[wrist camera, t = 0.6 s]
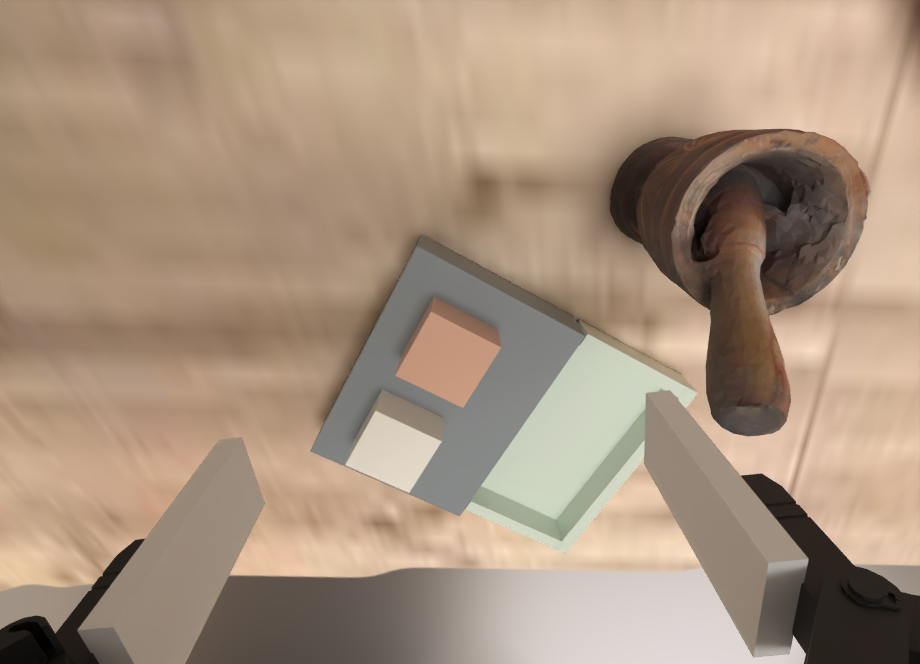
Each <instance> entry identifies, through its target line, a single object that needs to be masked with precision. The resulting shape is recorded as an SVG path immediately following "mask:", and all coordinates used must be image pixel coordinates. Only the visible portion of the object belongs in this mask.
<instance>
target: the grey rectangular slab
mask: <svg viewBox="0 0 920 664" xmlns="http://www.w3.org/2000/svg"><path fill="white" fill-rule="evenodd" d="M433 297H435V298H437V299H439V300H441V301H443V302H445V303H447V304H449V305H451V306H453V307H455V308H457V309H459V310H460V311H462V312H464V313H466V314H468V315H470V316H472V317H474V318H476V319H478V320H480V321H482V322H484V323H486V324H487V325H489V326H491V327H493V328H495V329H497V330H498V332H499V338H500V343H501V349H500V351H499V352H498V354H497V355H496V357H495V358H494V360H493V362H492V363H491V365H490V366H489V368H488V370H487V371H486V373H485V374H484V376H483V377H482V379H481V381H480V382H479V384H478V385H477V387H476V388H475V390H474V392H473V393H472V395H471V396H470V398H469V399H468V401H467V403H466V404H465V406H464V407H463V408H462V407H460V406H458V405H456V404H454V403H451V402H449V401H447V400H445V399H443V398H441V397H439V396H437V395H435V394H433V393H431V392H429V391H426V390H424V389H422V388H420V387H418V386H416V385H414V384H412V383H410V382H408V381H406V380H403V379H401V378H399V377H397V376H395V375H396V371H397V367H398V364H399V360H400V356H401V354H402V353H403V351H404V349H405V347H406V345H407V344H408V342H409V340H410V338H411V336H412V335H413V333H414V331H415V329H416V327H417V326H418V324H419V322H420V320H421V318H422V317H423V315H424V313H425V311H426V309H427V307H428V306H429V304H430V302H431V300H432V298H433ZM584 337H585V335H584V333H583V332H582V330H581V328H580V327H579V325H578V323H577V322H576V320H575V318H574V317H573V316H572V315H570V314H568V313H566V312H564V311H563V310H561V309H559V308H557V307H555V306H553V305H552V304H550V303H548V302H546V301H544V300H542V299H540V298H539V297H537V296H535V295H533V294H531V293H529V292H528V291H526V290H524V289H522V288H520V287H518V286H516V285H515V284H513V283H511V282H509V281H507V280H505V279H504V278H502V277H500V276H498V275H496V274H494V273H492V272H491V271H489V270H487V269H485V268H483V267H481V266H480V265H478V264H476V263H474V262H472V261H470V260H468V259H467V258H465V257H463V256H461V255H459V254H457V253H456V252H454V251H452V250H450V249H448V248H446V247H444V246H443V245H441V244H439V243H437V242H435V241H433V240H432V239H430V238H428V237H426V236H424V235H421V237H420V239H419V241H418V242H417V244H416V246H415V248H414V250H413V252H412V254H411V256H410V258H409V260H408V262H407V264H406V266H405V267H404V269H403V271H402V273H401V275H400V277H399V279H398V281H397V283H396V285H395V287H394V289H393V291H392V293H391V294H390V296H389V298H388V300H387V302H386V304H385V306H384V308H383V310H382V312H381V314H380V316H379V318H378V319H377V321H376V323H375V325H374V327H373V329H372V331H371V333H370V335H369V337H368V339H367V341H366V343H365V344H364V346H363V348H362V350H361V352H360V354H359V356H358V358H357V360H356V362H355V364H354V366H353V368H352V370H351V371H350V373H349V375H348V377H347V379H346V381H345V383H344V385H343V387H342V389H341V391H340V393H339V395H338V396H337V398H336V400H335V402H334V404H333V406H332V408H331V410H330V412H329V414H328V416H327V418H326V420H325V421H324V423H323V426H322V428H321V430H320V432H319V434H318V436H317V438H316V440H315V443H314V445H313V447H312V449H311V452H313V453H315V454H318V455H320V456H322V457H325V458H327V459H329V460H332V461H334V462H336V463H339V464H341V465H343V466H345V467H348V466H346V465H345V464H346V461H347V458H348V456H349V453H350V450H351V447H352V444H353V441H354V439H355V437H356V436H357V434H358V432H359V430H360V428H361V426H362V425H363V423H364V421H365V419H366V417H367V416H368V414H369V412H370V410H371V408H372V407H373V405H374V403H375V401H376V399H377V398H378V396H379V394H380V392H381V390H382V389H383V390H385V391H387V392H389V393H391V394H394V395H396V396H398V397H400V398H402V399H404V400H406V401H408V402H411V403H413V404H415V405H417V406H419V407H421V408H423V409H425V410H428V411H430V412H432V413H434V414H436V415H438V416H440V417H442V418H443V431H442V442H441V444H440V445H439V447H438V448H437V450H436V451H435V453H434V455H433V456H432V458H431V459H430V461H429V462H428V464H427V466H426V467H425V469H424V470H423V472H422V474H421V475H420V477H419V478H418V480H417V481H416V483H415V485H414V486H413V488H412V489H411V491H410V492H409V493H408V492H406V491H403V490H401V489H399V488H396V487H394V486H392V485H390V484H387V483H385V482H383V481H380V480H378V479H376V478H373V477H371V476H369V475H367V474H364V473H362V472H360V471H357V470H355V469H353V468H350V467H348V468H350V469H352V470H355V471H357V472H359V473H362V474H364V475H366V476H368V477H371V478H373V479H375V480H378V481H380V482H382V483H385V484H387V485H389V486H391V487H394V488H396V489H398V490H401V491H403V492H405V493H408V494H410V495H412V496H414V497H417V498H419V499H421V500H424V501H426V502H428V503H431V504H433V505H435V506H437V507H440V508H442V509H444V510H447V511H449V512H451V513H454V514H456V515H458V516H460V515H461V514H462V512H463V511H464V509H465V508H466V506H467V505H468V504H469V502H470V501H471V499H472V498H473V496H474V495H475V494H476V492H477V491H478V489H479V488H480V486H481V485H482V484H483V482H484V481H485V479H486V478H487V476H488V475H489V474H490V472H491V471H492V469H493V468H494V466H495V465H496V463H497V462H498V461H499V459H500V458H501V456H502V455H503V453H504V452H505V451H506V449H507V448H508V446H509V445H510V443H511V442H512V441H513V439H514V438H515V436H516V435H517V433H518V432H519V431H520V429H521V428H522V426H523V425H524V423H525V422H526V420H527V419H528V418H529V416H530V415H531V413H532V412H533V410H534V409H535V408H536V406H537V405H538V403H539V402H540V400H541V399H542V398H543V396H544V395H545V393H546V392H547V390H548V389H549V388H550V386H551V385H552V383H553V382H554V380H555V379H556V377H557V376H558V375H559V373H560V372H561V370H562V369H563V367H564V366H565V365H566V363H567V362H568V360H569V359H570V357H571V356H572V355H573V353H574V352H575V350H576V349H577V347H578V346H579V345H580V343H581V342H582V340H583V339H584Z"/></svg>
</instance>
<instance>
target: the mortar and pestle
mask: <svg viewBox="0 0 920 664" xmlns="http://www.w3.org/2000/svg"><path fill="white" fill-rule="evenodd" d="M870 193H871V191H870V187H869V183H868V180H867V176H866V175H865V173H864V172H863V171H862V170H861V169H860V168H859V167H858V162H857V161H856V160H855V159H854V158H853V157H852V156H851V155H850V154H849V153H848V151H847V150H846V149H845V148H844V147H843V146H841V145H840V144H838V143H837V142H836V141H834V140H832V139H830V138H828V137H825V136H822V135H820V134H817V133H815V132H804V131H801V130H793V129H762V130H731V131H722V132H717V133H714V134H709V135H705V136H702V137H700V138H697V139H695V140H692V139H684V138H676V137H666V138H661V139H657V140H654V141H651V142H649V143H647V144H644V145H642V146H641V147H640V148H638V149H637V150H635V151H634V152H633V153H632V154H631V155H630V157H629V158H628V159H627V160H626V161H625V162H624V164H623V165H622V167H621V168H620V170H619V172H618V175H617V177H616V180H615V182H614V186H613V189H612V195H611V213H612V216H613V218H614V221H615V223H616V225H617V226H618V228H619V229H620V231H622V232H623V233H624V234H625V235H626V236H628V237H629V238H632V239H633V240H635V241H637V242H639V243H641V244H643V246H644V248H645V249H646V250H647V252H648V253H649V255H650V256H651V258H652V259H653V261H654V262H655V264H656V265H657V267H658V268H659V270H660V271H661V272H662V273H663V274H664V275H665V276H666V277H668V278H669V279H670V280H671V281H673V282H674V283H675V284H677V285H678V286H679V287H681V288H682V289H683V290H684V291H685V292H686V293H687V294H688V295H690V296H691V297H692V298H693V299H695V300H696V301H697V302H698V303H700V304H701V305H703V306H704V307H706V308H708V309H709V310H711V311H710V316H711V326H710V335H709V342H708V351H707V360H706V394H707V398H708V402H709V405H710V409H711V415H712V417H713V419H714V420H715V421H716V422H717V423H718V424H719V425H720V426H721V427H722V428H724V429H726V430H728V431H730V432H732V433H734V434H739V435H744V436H759V435H765V434H771V433H774V432H776V431H778V430H779V429H781V427H782V426H783V425H784V424H785V422H786V421H787V417H788V412H789V407H790V403H791V395H790V385H789V381H788V378H787V374H786V371H785V365H784V360H783V356H782V353H781V350H780V347H779V344H778V341H777V339H776V336H775V333H774V330H773V328H772V325H771V322H770V318H769V315H773V314H776V313H778V312H780V311H782V310H784V309H786V308H790V307H794V306H798V305H800V304H801V303H803V302H805V301H806V300H808V299H809V298H811V297H812V296H813V295H815V294H816V293H818V292H819V291H820V290H822V289H823V288H825V287H826V286H827V285H828V284H829V283H830V282H831V281H832V280H833V279H834V278H835V277H836V276H837V275H838V274H839V273H840V271H841V270H842V269H843V268H844V267H845V265H846V264H847V262H848V260H849V258H850V257H851V255H852V253H853V252H854V250H855V248H856V246H857V243H858V241H859V239H860V236H861V234H862V231H863V228H864V221H865V219H866V218H867V217H866V213H867V206H868V198H869V196H870Z"/></svg>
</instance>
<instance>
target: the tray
mask: <svg viewBox="0 0 920 664" xmlns="http://www.w3.org/2000/svg"><path fill="white" fill-rule="evenodd" d="M577 323H578V325H579V327H580V328H581V330H582V332H583V333H584V335H585V337H584V339H583V340H582V342H581V343H580V345H579V346H578V347H577V349H576V350H575V352H574V353H573V355H572V356H571V357H570V359H569V360H568V362H567V363H566V365H565V366H564V367H563V369H562V370H561V372H560V373H559V375H558V376H557V377H556V379H555V380H554V382H553V383H552V385H551V386H550V388H549V389H548V390H547V392H546V393H545V395H544V396H543V398H542V399H541V400H540V402H539V403H538V405H537V406H536V408H535V409H534V410H533V412H532V413H531V415H530V416H529V418H528V419H527V420H526V422H525V423H524V425H523V426H522V428H521V429H520V431H519V432H518V433H517V435H516V436H515V438H514V439H513V441H512V442H511V443H510V445H509V446H508V448H507V449H506V451H505V452H504V453H503V455H502V456H501V458H500V459H499V461H498V462H497V463H496V465H495V466H494V468H493V469H492V471H491V472H490V474H489V475H488V476H487V478H486V479H485V481H484V482H483V484H482V485H481V486H480V488H479V489H478V491H477V492H476V494H475V495H474V496H473V498H472V499H471V501H470V502H469V504H468V505H467V506H466V508H465V510H467V511H469V512H471V513H474V514H476V515H478V516H480V517H483V518H485V519H487V520H490V521H492V522H494V523H496V524H499V525H501V526H503V527H505V528H508V529H510V530H512V531H515V532H517V533H519V534H521V535H524V536H526V537H528V538H531V539H533V540H535V541H537V542H540V543H542V544H544V545H547V546H549V547H551V548H553V549H556V550H558V551H560V552H563V553H566V552H567V551H568V550H569V548H570V547H571V546H572V545H573V544H574V542H575V541H576V540H577V539H578V537H579V536H580V535H581V534H582V533H583V531H584V530H585V529H586V528H587V527H588V525H589V524H590V523H591V522H592V521H593V519H594V518H595V517H596V516H597V515H598V513H599V512H600V511H601V510H602V509H603V507H604V506H605V505H606V504H607V503H608V501H609V500H610V499H611V498H612V496H613V495H614V494H615V493H616V492H617V490H618V489H619V488H620V487H621V486H622V484H623V483H624V482H625V481H626V480H627V478H628V477H629V476H630V475H631V474H632V472H633V471H634V470H635V469H636V468H637V466H638V465H639V464H640V463H641V462H642V460H643V459H644V445H645V409H646V393H648V392H657V391H667V390H671V392H672V393H673V394H674V395H675V397H676V398H677V399H678V400H679V401H680V403H681V404H682V405H683V406H684V408H686V407H687V406H688V405H689V404H690V402H691V401H692V400H693V399H694V398H695V396H696V395H697V394H698V393H697V391H696V390H695V389H694V388H693V387H692V386H691V385H690V384H689V383H688V381H687V380H686V379H685V378H684V377H683V376H682V375H681V374H679V373H677V372H675V371H673V370H672V369H670V368H668V367H666V366H664V365H662V364H661V363H659V362H657V361H655V360H653V359H651V358H649V357H648V356H646V355H644V354H642V353H640V352H638V351H637V350H635V349H633V348H631V347H629V346H627V345H625V344H624V343H622V342H620V341H618V340H616V339H614V338H613V337H611V336H609V335H607V334H605V333H603V332H601V331H600V330H598V329H596V328H594V327H592V326H590V325H588V324H587V323H585V322H583V321H581V320H579V319H578V321H577Z"/></svg>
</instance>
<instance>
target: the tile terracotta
mask: <svg viewBox="0 0 920 664" xmlns="http://www.w3.org/2000/svg"><path fill="white" fill-rule="evenodd" d="M500 349H501V343H500V338H499V332H498V330H497V329H495V328H493V327H491V326H489V325H487V324H486V323H484V322H482V321H480V320H478V319H476V318H474V317H472V316H470V315H468V314H466V313H464V312H462V311H460V310H459V309H457V308H455V307H453V306H451V305H449V304H447V303H445V302H443V301H441V300H439V299H437V298H435V297H433V298H432V300H431V302H430V304H429V306H428V307H427V309H426V311H425V313H424V315H423V317H422V318H421V320H420V322H419V324H418V326H417V327H416V329H415V331H414V333H413V335H412V336H411V338H410V340H409V342H408V344H407V345H406V347H405V349H404V351H403V353H402V354H401V356H400V360H399V364H398V367H397V371H396V375H395V376H397V377H399V378H401V379H403V380H406V381H408V382H410V383H412V384H414V385H416V386H418V387H420V388H422V389H424V390H426V391H429V392H431V393H433V394H435V395H437V396H439V397H441V398H443V399H445V400H447V401H449V402H451V403H454V404H456V405H458V406H460V407H462V408H463V407H464V406H465V404H466V403H467V401H468V399H469V398H470V396H471V395H472V393H473V392H474V390H475V388H476V387H477V385H478V384H479V382H480V381H481V379H482V377H483V376H484V374H485V373H486V371H487V370H488V368H489V366H490V365H491V363H492V362H493V360H494V358H495V357H496V355H497V354H498V352H499V351H500Z"/></svg>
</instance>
